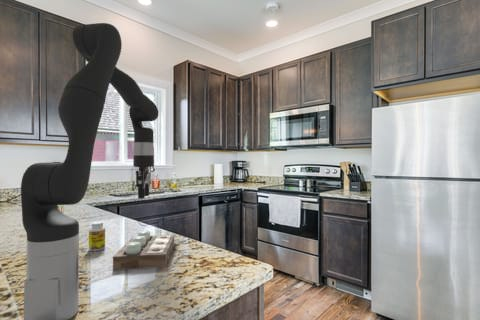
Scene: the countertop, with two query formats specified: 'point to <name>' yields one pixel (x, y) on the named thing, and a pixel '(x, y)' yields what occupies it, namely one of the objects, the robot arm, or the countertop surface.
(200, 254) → the countertop surface
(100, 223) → the supplement bottle
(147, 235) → the button far
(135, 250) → the button near
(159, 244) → the brown wooden tray
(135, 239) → the button middle
